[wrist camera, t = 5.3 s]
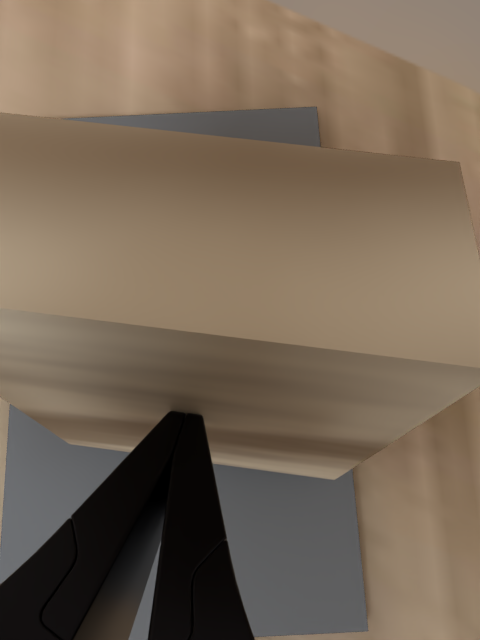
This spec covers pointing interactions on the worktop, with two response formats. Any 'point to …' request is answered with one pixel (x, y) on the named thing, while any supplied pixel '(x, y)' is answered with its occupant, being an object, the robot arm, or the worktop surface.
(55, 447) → the rubber mat
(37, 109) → the worktop surface
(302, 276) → the maple block
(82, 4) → the worktop surface
